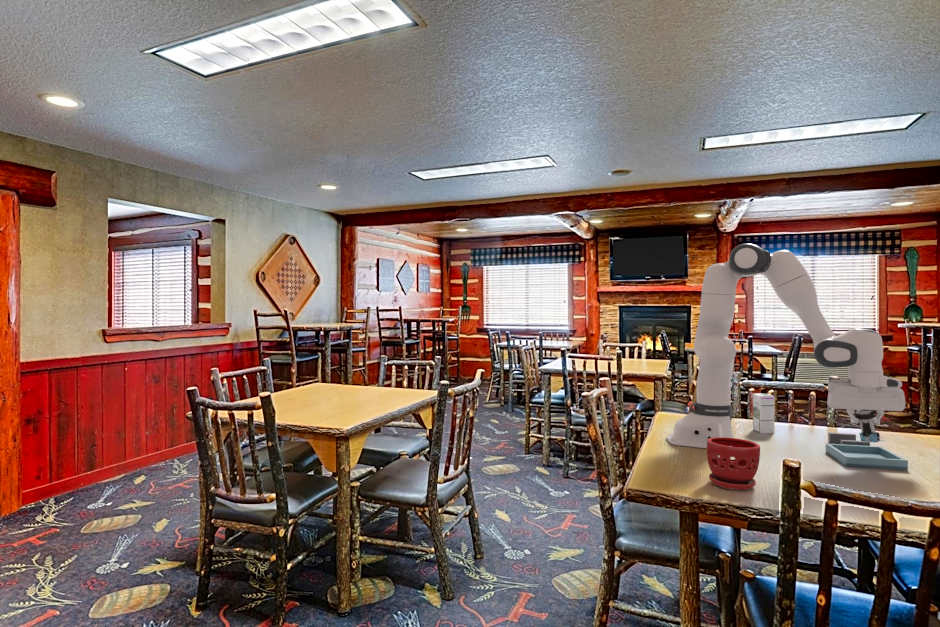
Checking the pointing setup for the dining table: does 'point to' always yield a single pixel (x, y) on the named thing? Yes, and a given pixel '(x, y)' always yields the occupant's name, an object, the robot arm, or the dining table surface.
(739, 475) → the plant pot
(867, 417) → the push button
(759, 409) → the syrup box
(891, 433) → the dining table surface
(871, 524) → the dining table surface
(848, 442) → the clip holder
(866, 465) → the tray
